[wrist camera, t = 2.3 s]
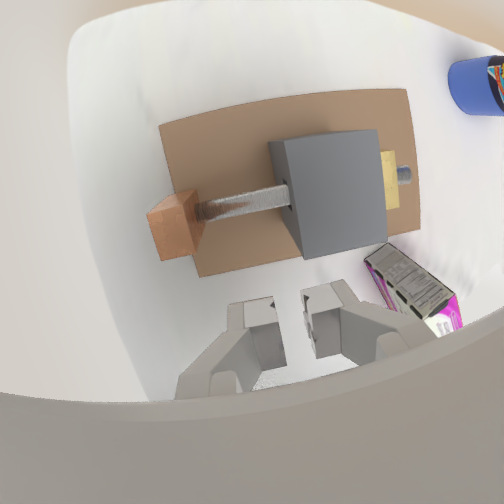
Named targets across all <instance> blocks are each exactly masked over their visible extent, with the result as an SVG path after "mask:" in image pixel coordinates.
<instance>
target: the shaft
mask: <svg viewBox="0 0 504 504" xmlns="http://www.w3.org/2000/svg"><path fill="white" fill-rule="evenodd" d="M396 169H397V179H398V185H403V184H409V183H410V182H411V180H412V173H411V170H410V168H409V166H408V165H398V166H396ZM287 205H291V201H290V196H289V190H288V185H287V184H281V185H276V186H271V187H266V188H262V189H257V190H252V191H247V192H243V193H238V194H234V195H229V196H225V197H220V198H216V199H212V200H208V201H203V202H200V201H199V197H198V193H197V190H196V189H192V190H188V191H184V192H180V193H176V194H172V195H169V196H167V197H166V198H165V199H164V200H163V201H162V202H160V203H159V204H158V205H157V206H156V207H154V208H153V209H152V210H151V211H150V212H149V213H148V214H146V215H147V219H148V222H149V225H150V228H151V232H152V235H153V238H154V241H155V244H156V247H157V250H158V253H159V256H160V259H161V261H164V260H169V259H173V258H178V257H182V256H187V255H191V254H196V252H197V249H198V246H199V243H200V240H201V237H202V234H203V231H204V229H205V226H206V224H205V223H208V222H212V221H217V220H221V219H226V218H230V217H235V216H239V215H244V214H248V213H253V212H258V211H262V210H267V209H272V208H277V207H282V206H287Z"/></svg>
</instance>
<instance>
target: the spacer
mask: <svg viewBox="0 0 504 504" xmlns="http://www.w3.org/2000/svg"><path fill="white" fill-rule="evenodd" d="M380 153H381V160H382V169H383V178H384V188H385V200H386V210H389V209H394V208H399V192H398V179H397V169H396V160H395V151H394V150H387V149H380Z"/></svg>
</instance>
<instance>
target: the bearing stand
mask: <svg viewBox="0 0 504 504" xmlns="http://www.w3.org/2000/svg"><path fill="white" fill-rule="evenodd" d="M159 130H160V135H161V139H162V143H163V148H164V152H165V156H166V160H167V164H168V168H169V172H170V176H171V180H172V183H173V187H174V191H175V194H176V193H180V192H184V191H188V190H192V189H196V190H197V193H198V197H199V201H200V202H203V201H208V200H212V199H216V198H220V197H225V196H229V195H234V194H238V193H243V192H247V191H252V190H257V189H262V188H266V187H271V186H276V185H281V184H287V185H288V190H289V196H290V201H291V205H287V206H282V207H277V208H272V209H267V210H262V211H258V212H253V213H248V214H244V215H239V216H235V217H230V218H226V219H221V220H217V221H212V222H208V223H205V224H206V226H205V229H204V231H203V234H202V237H201V240H200V243H199V246H198V249H197V252H196V254H192V255H193V258H194V261H195V264H196V268H197V271H198V274H199V277H205V276H210V275H215V274H220V273H225V272H229V271H234V270H239V269H244V268H248V267H253V266H258V265H262V264H267V263H272V262H276V261H281V260H286V259H290V258H295V257H300V256H303V258H304V260H308V259H312V258H317V257H321V256H326V255H330V254H334V253H339V252H343V251H348V250H352V249H356V248H361V247H365V246H369V245H374V244H378V243H382V242H386V241H388V237H389V236H393V235H397V234H401V233H406V232H410V231H414V230H419V229H420V194H419V178H418V166H417V156H416V147H415V139H414V131H413V124H412V118H411V112H410V106H409V101H408V96H407V91H406V89H367V90H347V91H333V92H322V93H312V94H304V95H296V96H288V97H281V98H275V99H269V100H263V101H257V102H252V103H246V104H241V105H236V106H232V107H227V108H223V109H218V110H214V111H210V112H206V113H202V114H198V115H194V116H190V117H186V118H183V119H179V120H176V121H172V122H169V123H166V124H162V125H159ZM380 149H387V150H394V151H395V160H396V166H398V165H408V166H409V168H410V170H411V173H412V180H411V182H410V183H409V184H403V185H398V192H399V208H394V209H389V210H386V200H385V188H384V178H383V169H382V160H381V153H380Z"/></svg>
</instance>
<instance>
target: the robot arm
mask: <svg viewBox="0 0 504 504" xmlns="http://www.w3.org/2000/svg"><path fill="white" fill-rule="evenodd" d="M301 300H302V304H303V306H304V309H305V310H304V312H303V314H304V320H305V325H306V330H307V333H308V336H309V338H310V339H311V343H312V348H313V351H314V353H315V356H316V359H319V358H323V357H328V356H332V355H336V354H340V353H342V355H344V356H345V357H347V358H348V359H350V360H351V361H353V362H354V363H356V364H357V365H359V366H358V367H355V368H351V369H348V370H344V371H341V372H337V373H333V374H329V375H326V376H322V377H318V378H314V379H309V380H305V381H301V382H296V383H292V384H287V385H282V386H277V387H272V388H266V389H261V390H255V391H251V390H252V389H253V387H254V385H255V384H256V382H257V380H258V378H259V377H260V375H261V373H262V372H261V371H266V370H271V369H275V368H279V367H284V366H287V363H286V357H285V352H284V347H283V342H282V337H281V332H280V327H279V322H278V318H277V313H276V309H275V304H274V300H273V296H270V297H265V298H260V299H254V300H249V301H244V302H243V301H242V302H238V303H233V304H229V305H228V314H227V332H224V333H222V334H221V335H220V336H219V337H218V338H217V339H216V340H215V341H214V342H213V343H212V344H211V345H210V346H209V347H208V348H207V349H206V350H205V351H204V352H203V353H202V354H201V355H200V356H199V357H198V358H197V359H196V360H195V361H194V362H193V363H192V364H191V365H190V366H189V367H188V368H187V369H186V370H185V371H184V372H183V373H182V374H181V375H180V376H179V379H178V384H177V389H176V394H175V399H174V400H171V401H153V402H81V401H65V400H52V399H42V398H34V397H27V396H19V395H13V394H8V393H2V392H0V504H504V306H503V307H502V308H500V309H498V310H496V311H494V312H492V313H490V314H488V315H486V316H485V317H483V318H480V319H479V320H476V321H474V322H472V323H470V324H468V325H466V326H464V327H462V328H460V329H457V330H455V331H453V332H451V333H448V334H446V335H444V336H441V337H439V338H438V337H437V336H436V335H435V333H434V332H433V331H432V330H431V329H430V328H429V326H428V325H427V324H426V323H425V322H424V321H423V320H421V319H418V318H415V317H412V316H409V315H406V314H403V313H399V312H396V311H393V310H390V309H387V308H384V307H381V306H378V305H375V304H372V303H369V302H366V301H362V302H360V301H359V300H358V298H357V297H356V295H355V294H354V293H353V291H352V290H351V289H350V287H349V286H348V284H347V283H346V282H345V280H343V279H341V280H338V281H334V282H331V283H327V284H323V285H319V286H315V287H311V288H307V289H303V290H301Z"/></svg>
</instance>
